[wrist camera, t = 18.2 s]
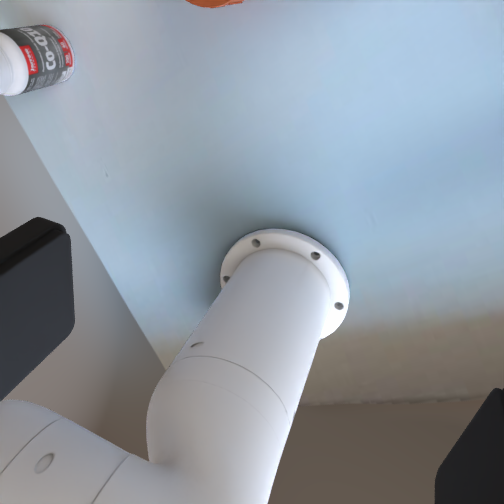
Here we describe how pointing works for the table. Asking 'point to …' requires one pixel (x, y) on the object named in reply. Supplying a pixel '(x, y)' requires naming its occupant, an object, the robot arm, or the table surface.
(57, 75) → the pill bottle
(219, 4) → the thermos lid
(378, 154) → the table surface
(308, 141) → the table surface
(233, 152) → the table surface
